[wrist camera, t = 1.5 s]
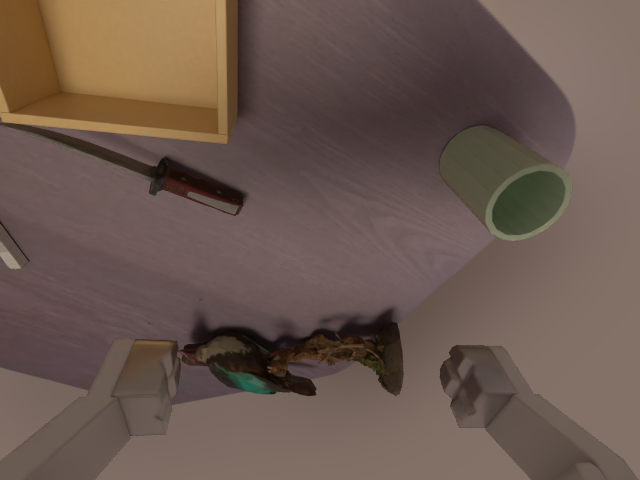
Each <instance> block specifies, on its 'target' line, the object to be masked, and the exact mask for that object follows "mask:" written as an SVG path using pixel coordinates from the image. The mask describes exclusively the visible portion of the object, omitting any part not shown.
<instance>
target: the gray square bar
mask: <svg viewBox="0 0 640 480" xmlns="http://www.w3.org/2000/svg"><path fill="white" fill-rule="evenodd" d="M0 257H1V258H2V259H3V261H4V262H5V263H6V264H7V266H8V267H9V268H10V269H17V268H22V267H23V266H24V265H25V264H26V263H28V260H27V259H26V257H25V256H24V255H23V253H22V252H21V251H20V249H19V248H18V247H17V245H16V244H15V243H14V241H13V240H12V239H11V237H10V236H9V235H8V233H7V232H6V230H5V229H4V228H3V226H2V225H1V224H0Z"/></svg>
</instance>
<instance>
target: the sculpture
mask: <svg viewBox="0 0 640 480" xmlns="http://www.w3.org/2000/svg"><path fill="white" fill-rule="evenodd" d="M334 331H335V330H334ZM335 335H336V336H337V337H338V338H339V339H340V342H338V341H335V342H333V341H332V340H328V339H327V338H326V337H325V336H323V335H321V334H317V335H314V336H313V337H312V338H311V340H310V339H307V340H305V341H304V342H303V343H302V344H301V345H295V346H294V347H293V349H292V348H285V349H284V348H281V349H279V350H276V351H275V352H273V353H270V352H269V351H267V350H266V349H264V348H263V347H261V346H260V345H258V344H257V343H255V342H254V341H252V340H251V339H249V338H248V337H247V336H245V335H243V334H240V333H234V332H227V333H223V334H221V335H219V336H217V337H215V338H214V339H212V340H211V341H209V342H206V343H198V344H188V345H185V346H184V349H183V350H180V351H178V352H180V353H181V354H183V357H182V361H183V362H184V363H186V364H188V365H200V366H208V367H209V369H210V371H211V373H212V374H214V375H215V377H216V378H217V379H218V380H219V381H221V382H222V383H224V384H225V385H226V386H228V387H232V388H237V389H240V390H243V391H247V392H252V393H258V394H275V393H276V391H277V392H294V393H298V394H300V395H306V396H314V395H316V392H315V391H316V387H315V386H314V384H313V382H312V381H311V380H310V379H307V378H304V377H299V376H294V375H291V374H290V373H289V371H288V370H287V368H288V364H287V363H288V362H298V361H300V360H301V359H304V358H309V359H313V360H321V361H320V362H318V363H317V364H319V363H322V362H323V361H324V360H325V361H326V362H327V363H328V365H329V366H331V365H332V364H335V362H338V361H347V362H348V361H351V360H354V361H358V362H360V363H361V364H363V365H364V366H368V367H369V368H372V369H373V370H374V371H375V370H376V374H377V375H379V379H378V381H379V382H380V383H381V385H382V387H383V388H384V389H385V390H387V391H388V392H390V393H391V394H393V395H395V396H397V395H398V394H400V391H401V388H402V381H403V356H402V347H401V340H400V333H399V329H398V325H397V323H395V322H389V323H388V324H387V325H386V326H384V327H383V329H382V331H381V332H379V334H376V335H374V336H375V338H377V340H376V344H375V342H374V341H373V340H371V339H368V340H363V339H362V338H360V337H358V336H355V335H352V334H347V335H346V336H345V338H342V339H341V338H340V337H339V336H338V334H337V333H336V331H335Z"/></svg>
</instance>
